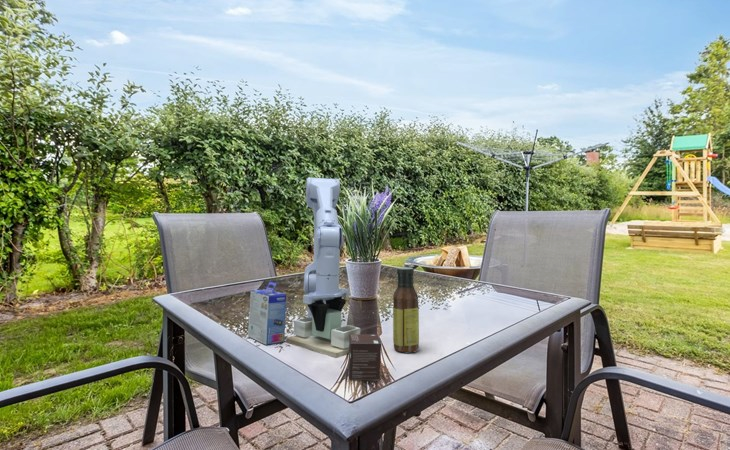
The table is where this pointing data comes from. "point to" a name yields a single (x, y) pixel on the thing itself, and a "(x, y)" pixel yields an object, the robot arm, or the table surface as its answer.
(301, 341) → the board
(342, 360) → the table surface
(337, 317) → the block
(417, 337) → the sauce bottle
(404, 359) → the table surface
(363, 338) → the box
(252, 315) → the ink cartridge box
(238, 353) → the table surface
